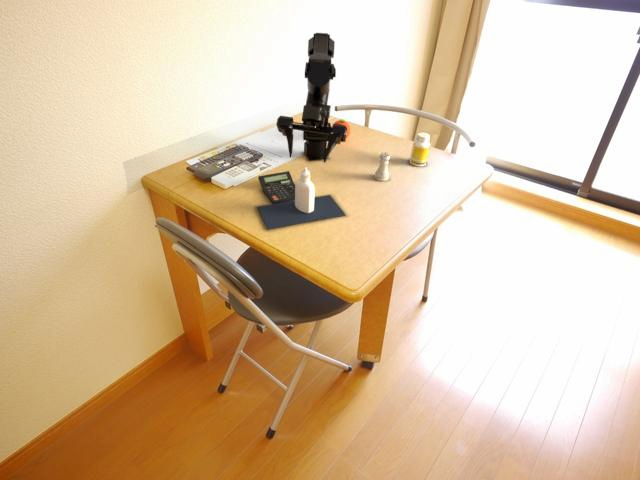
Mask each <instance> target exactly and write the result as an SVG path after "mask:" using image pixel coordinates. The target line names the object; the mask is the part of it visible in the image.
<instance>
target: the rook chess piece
mask: <svg viewBox="0 0 640 480" xmlns="http://www.w3.org/2000/svg"><path fill="white" fill-rule="evenodd" d="M379 159H380V160H379V161H378V162H379V166H378V168H377V169H376V171H375V172H374V178H375V180H377V181H379V182H386V181H388V180H389V179H390V172H389V170H388V165H389V163H390V162H389V160H390V159H391V156H390V153H389V152H381V153H380V155H379Z"/></svg>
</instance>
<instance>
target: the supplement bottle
mask: <svg viewBox="0 0 640 480" xmlns="http://www.w3.org/2000/svg"><path fill="white" fill-rule="evenodd" d="M430 138H431V135H430V134H429V133H427V132H418V133H417V135H416V139H414V140H413V142H412V147H411V154H410V157H409V163H410V164H411V165H412V166H416V167H424V166H426V164H427V160H428V157H429V152H430V147H431V143H430Z"/></svg>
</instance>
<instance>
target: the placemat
mask: <svg viewBox="0 0 640 480" xmlns="http://www.w3.org/2000/svg"><path fill="white" fill-rule="evenodd" d="M256 208H257V210H258V212H259V215H260V217H261V218H262V221H263V222H264V224H265V227H266V228H267V230H274V229H278V228H284V227H289V226H295V225H301V224H307V223H312V222H317V221H323V220H330V219H333V218H340V217H345V216H346V213H345V212H344V211H343V209H342V208H341V207H340V205H338V203H337V202H336V201H335V200H334V198H333V197H332V196H331V194H327V195H321V196H314V211H312V212H310V213H304V212H302V211H300V210H298V209H297V208H296V206H295V200H294V201H289V202H283V203H276V204H272V203H270V204H264V205H259V206H256Z"/></svg>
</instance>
